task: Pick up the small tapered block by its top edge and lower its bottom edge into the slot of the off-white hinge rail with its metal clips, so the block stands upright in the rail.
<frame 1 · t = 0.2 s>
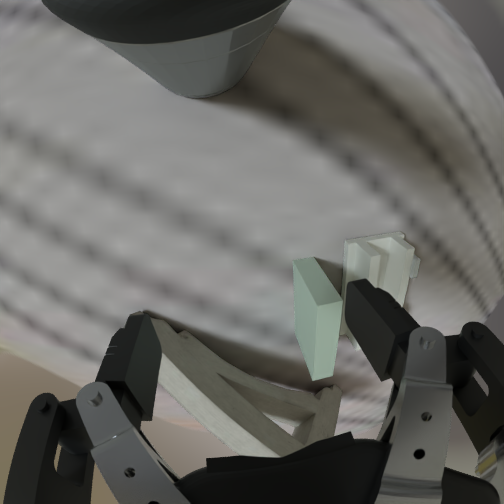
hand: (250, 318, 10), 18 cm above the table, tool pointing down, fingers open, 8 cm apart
hinge rail: (368, 284, 33), on the table
tapered block: (303, 298, 33), on the table
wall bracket: (248, 366, 38), on the table
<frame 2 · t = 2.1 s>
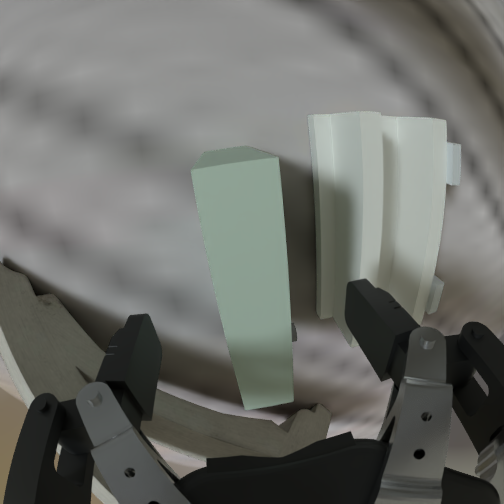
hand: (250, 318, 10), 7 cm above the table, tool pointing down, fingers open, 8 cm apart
hinge rail: (368, 218, 18), on the table
tapered block: (238, 236, 17), on the table
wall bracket: (165, 368, 22), on the table
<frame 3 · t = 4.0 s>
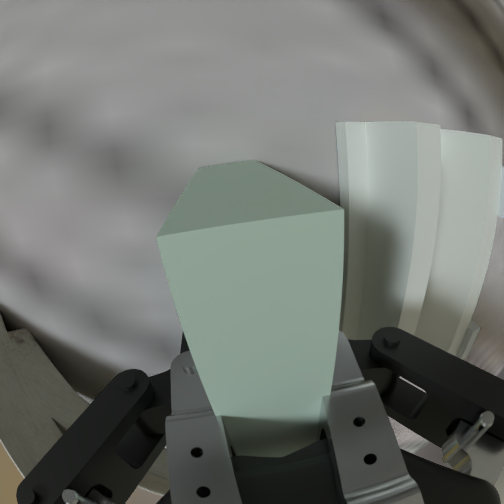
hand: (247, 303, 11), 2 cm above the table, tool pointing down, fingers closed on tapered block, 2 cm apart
hinge rail: (400, 251, 14), on the table
tapered block: (243, 278, 13), on the table, touching gripper
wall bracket: (155, 411, 18), on the table
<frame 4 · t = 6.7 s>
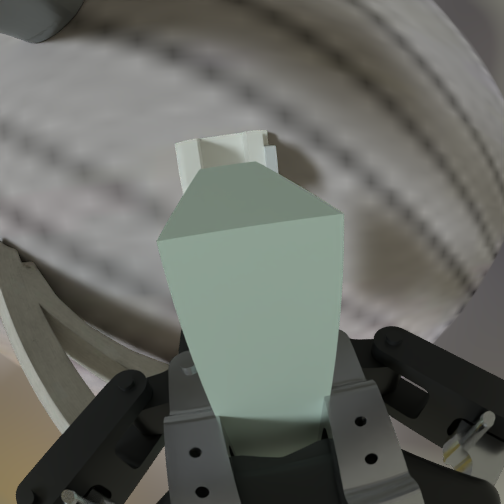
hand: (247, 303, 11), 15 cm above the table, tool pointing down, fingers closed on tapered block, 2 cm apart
hinge rail: (230, 209, 25), on the table
tapered block: (243, 279, 13), point 13 cm above the table, touching gripper
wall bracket: (102, 319, 29), on the table
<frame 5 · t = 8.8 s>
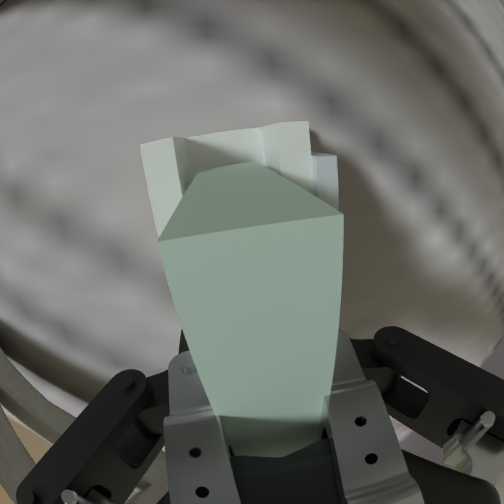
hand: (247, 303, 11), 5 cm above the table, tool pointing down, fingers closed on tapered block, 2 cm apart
hinge rail: (239, 258, 16), on the table
tapered block: (243, 279, 13), point 2 cm above the table, touching gripper
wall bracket: (69, 383, 19), on the table
when the fingers open (5 cm above the table, at t = 9.4 s): tapered block drops 1 cm, resting on hinge rail.
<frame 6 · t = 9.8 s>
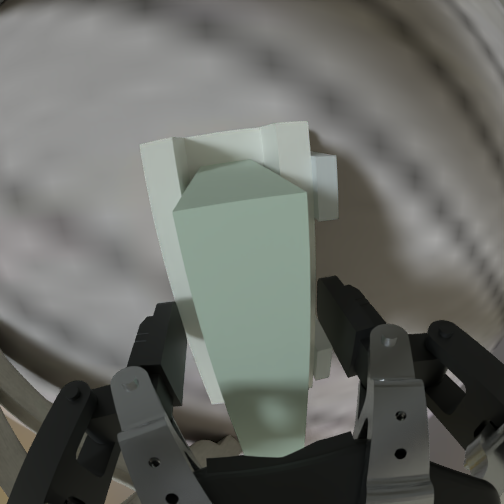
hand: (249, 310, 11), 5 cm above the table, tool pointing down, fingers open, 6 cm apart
hinge rail: (239, 258, 16), on the table
tapered block: (240, 266, 15), point 1 cm above the table, touching hinge rail
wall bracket: (68, 382, 19), on the table
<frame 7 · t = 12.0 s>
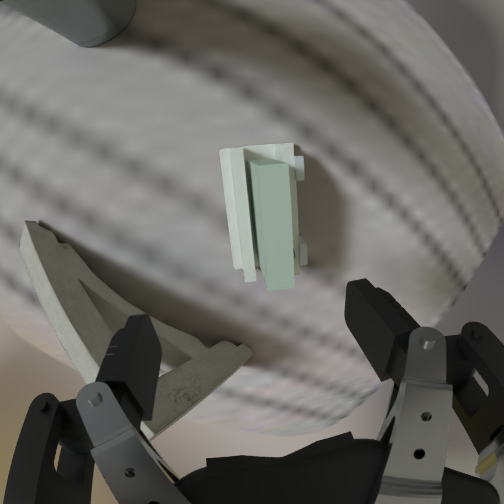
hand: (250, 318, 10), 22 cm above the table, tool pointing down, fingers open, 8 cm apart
hinge rail: (261, 206, 31), on the table
tapered block: (262, 208, 30), point 1 cm above the table, touching hinge rail
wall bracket: (132, 298, 34), on the table
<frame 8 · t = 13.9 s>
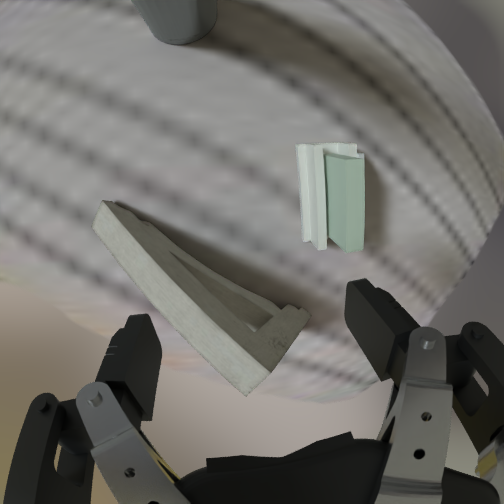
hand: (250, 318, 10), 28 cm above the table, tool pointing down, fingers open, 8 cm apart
hinge rail: (325, 190, 38), on the table
tapered block: (328, 192, 37), point 1 cm above the table, touching hinge rail
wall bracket: (208, 270, 41), on the table
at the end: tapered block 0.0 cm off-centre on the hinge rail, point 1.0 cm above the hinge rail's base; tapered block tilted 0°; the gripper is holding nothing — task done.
